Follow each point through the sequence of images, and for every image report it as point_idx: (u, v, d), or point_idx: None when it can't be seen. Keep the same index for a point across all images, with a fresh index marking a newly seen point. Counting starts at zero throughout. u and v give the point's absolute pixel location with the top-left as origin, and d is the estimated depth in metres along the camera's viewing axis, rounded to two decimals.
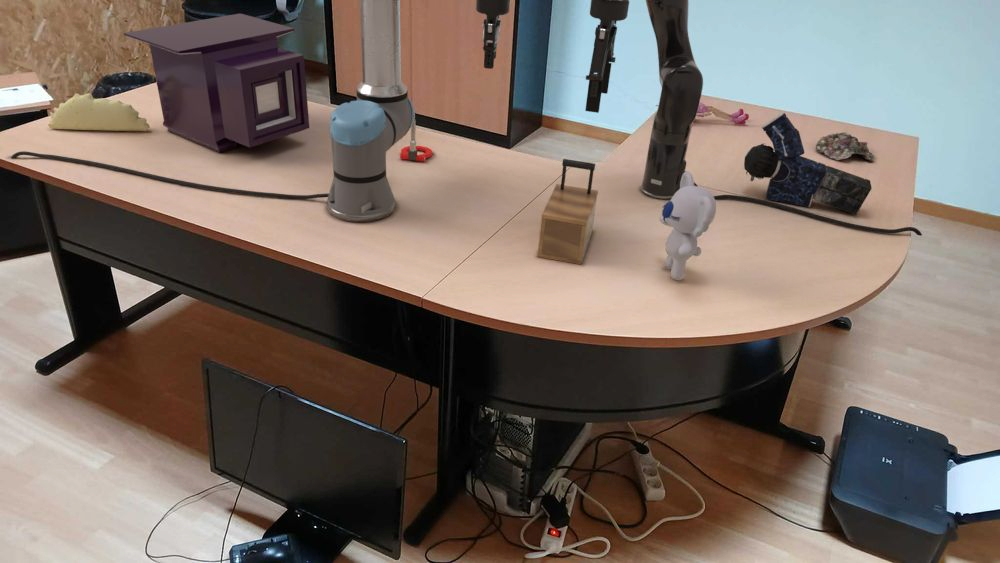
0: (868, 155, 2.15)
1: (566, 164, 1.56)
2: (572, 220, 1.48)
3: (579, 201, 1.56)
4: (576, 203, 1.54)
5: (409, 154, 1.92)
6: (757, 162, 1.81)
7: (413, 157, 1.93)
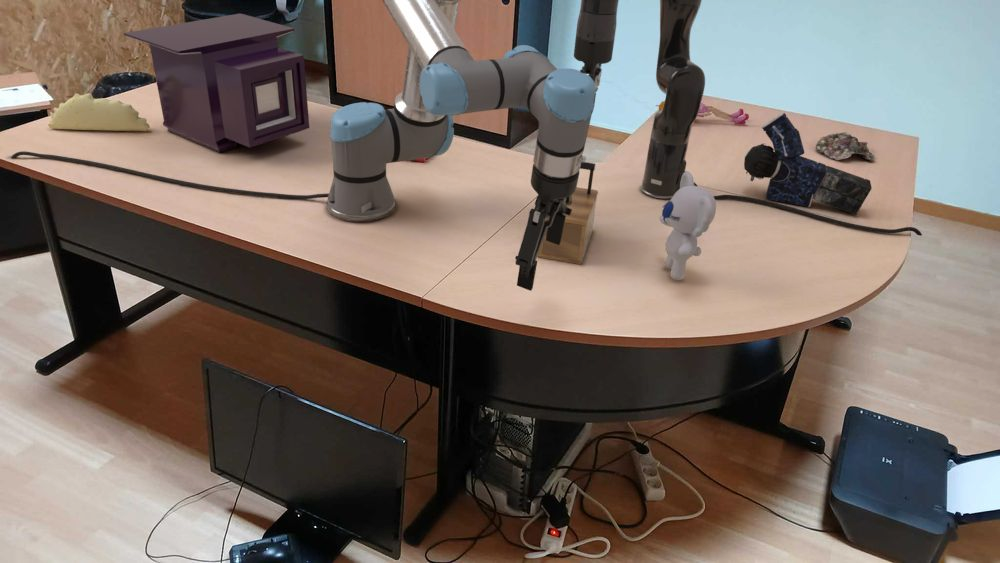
0: (868, 155, 2.15)
1: None
2: (572, 220, 1.48)
3: (579, 201, 1.56)
4: (576, 203, 1.54)
5: None
6: (757, 162, 1.81)
7: None
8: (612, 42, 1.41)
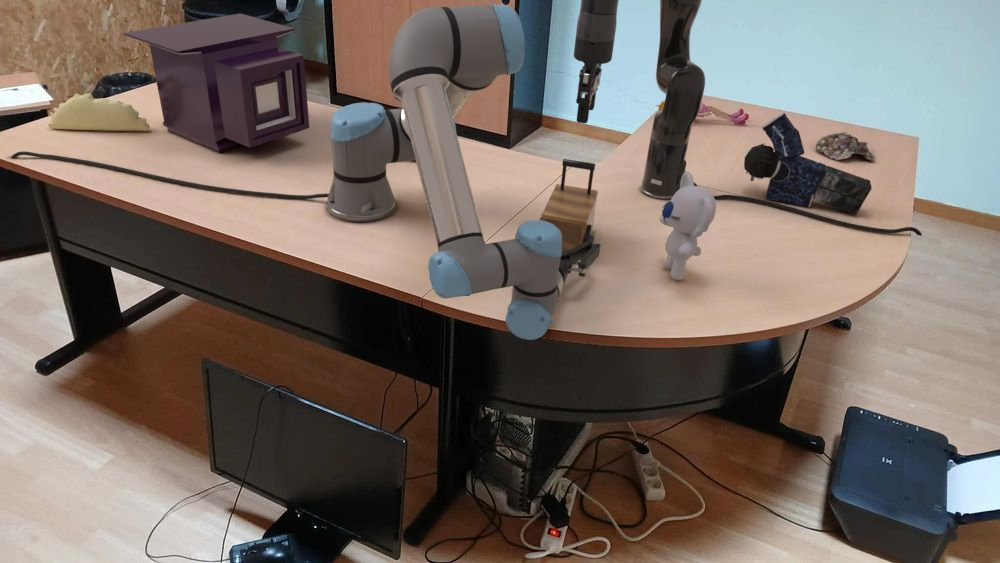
0: (868, 155, 2.15)
1: (566, 164, 1.56)
2: (572, 220, 1.48)
3: (579, 201, 1.56)
4: (576, 203, 1.54)
5: None
6: (757, 162, 1.81)
7: None
8: (612, 42, 1.41)
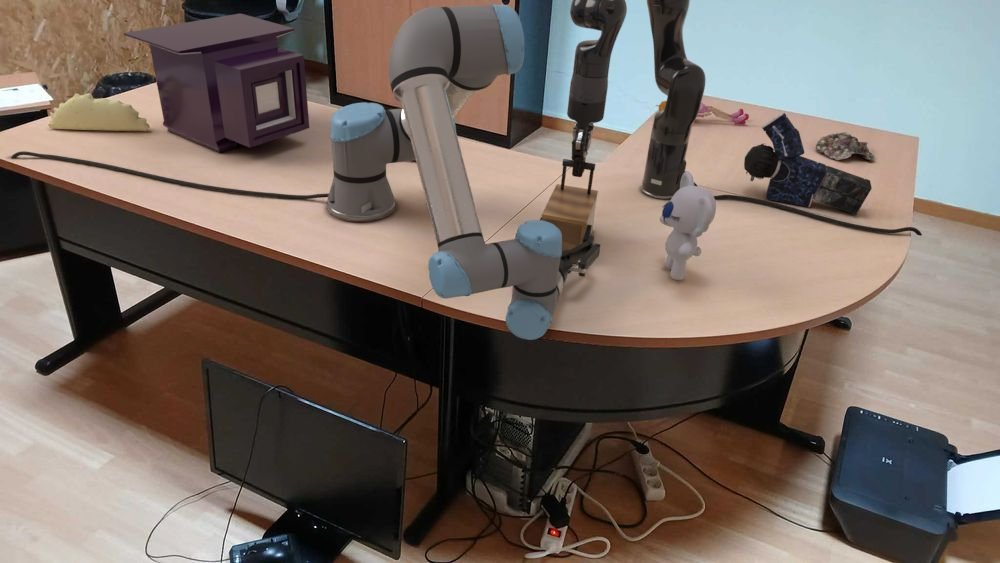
0: (868, 155, 2.15)
1: (566, 164, 1.56)
2: (572, 220, 1.48)
3: (579, 201, 1.56)
4: (576, 204, 1.54)
5: None
6: (757, 162, 1.81)
7: None
8: (604, 102, 1.47)
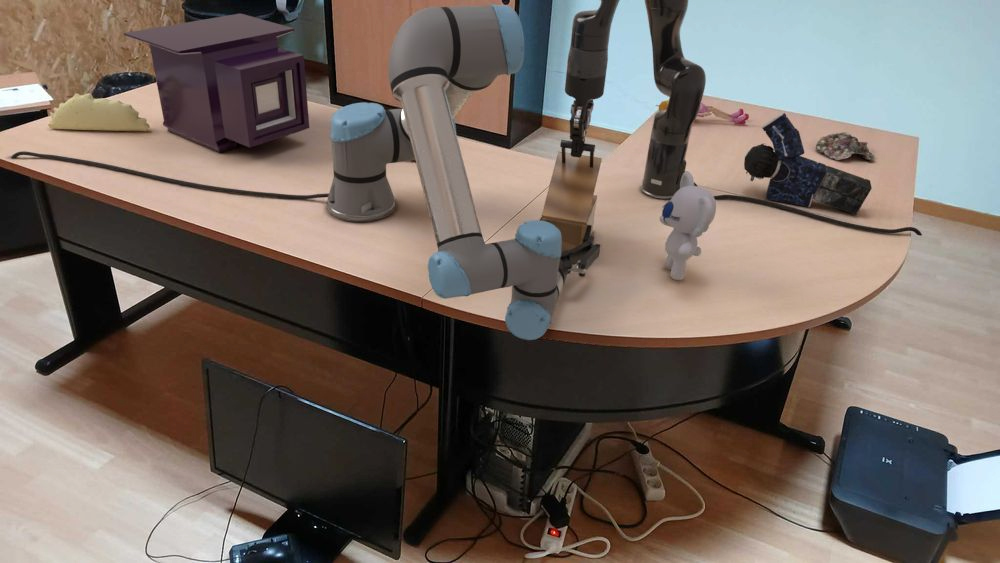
0: (868, 155, 2.15)
1: (564, 147, 1.48)
2: (572, 221, 1.48)
3: (580, 183, 1.51)
4: (577, 189, 1.51)
5: None
6: (757, 162, 1.81)
7: None
8: (603, 77, 1.38)
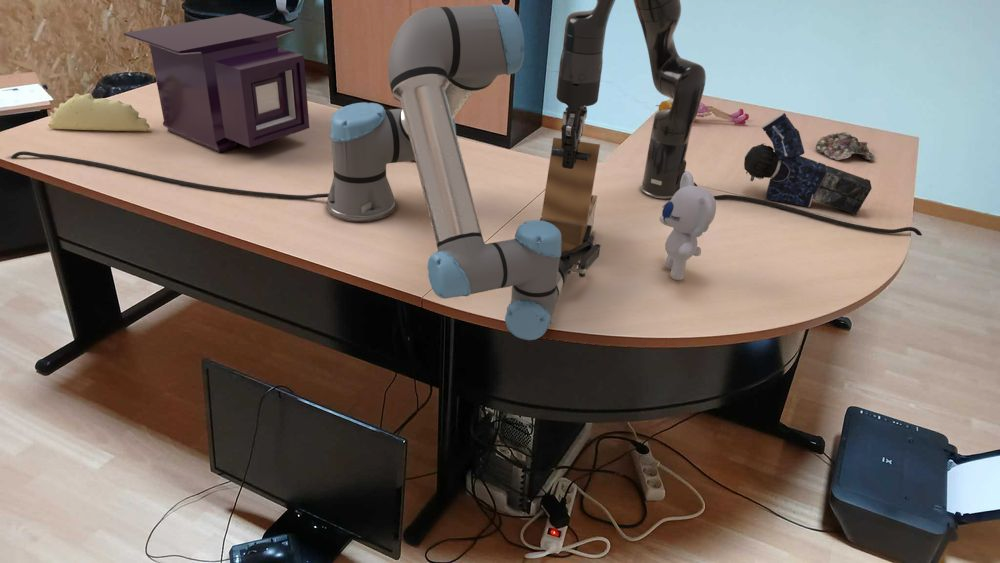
0: (868, 155, 2.15)
1: None
2: None
3: (578, 178, 1.46)
4: (576, 185, 1.46)
5: None
6: (757, 162, 1.81)
7: None
8: (598, 83, 1.29)
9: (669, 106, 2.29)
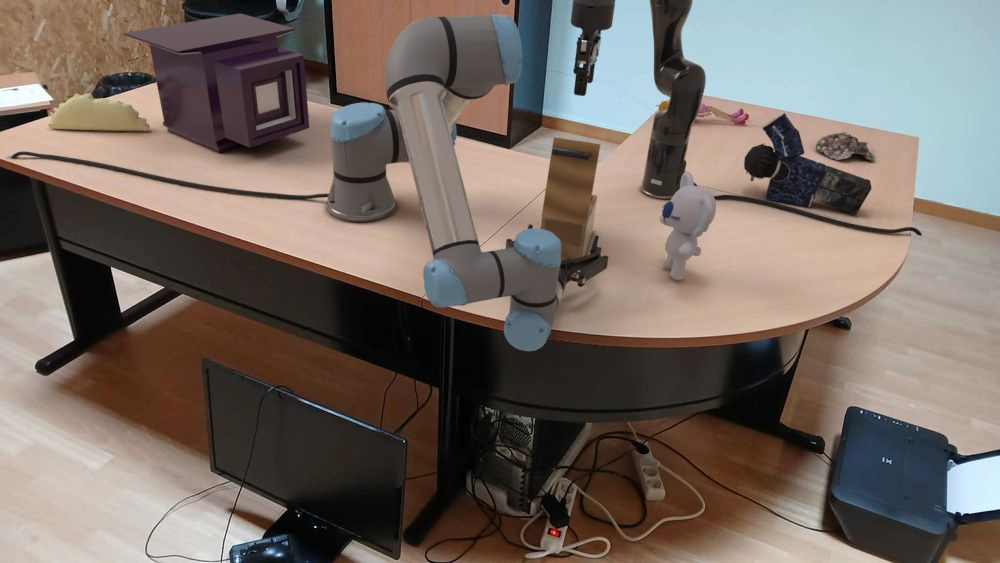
0: (868, 155, 2.15)
1: None
2: (572, 221, 1.48)
3: (579, 177, 1.46)
4: (576, 184, 1.46)
5: None
6: (757, 162, 1.81)
7: None
8: (612, 6, 1.30)
9: None
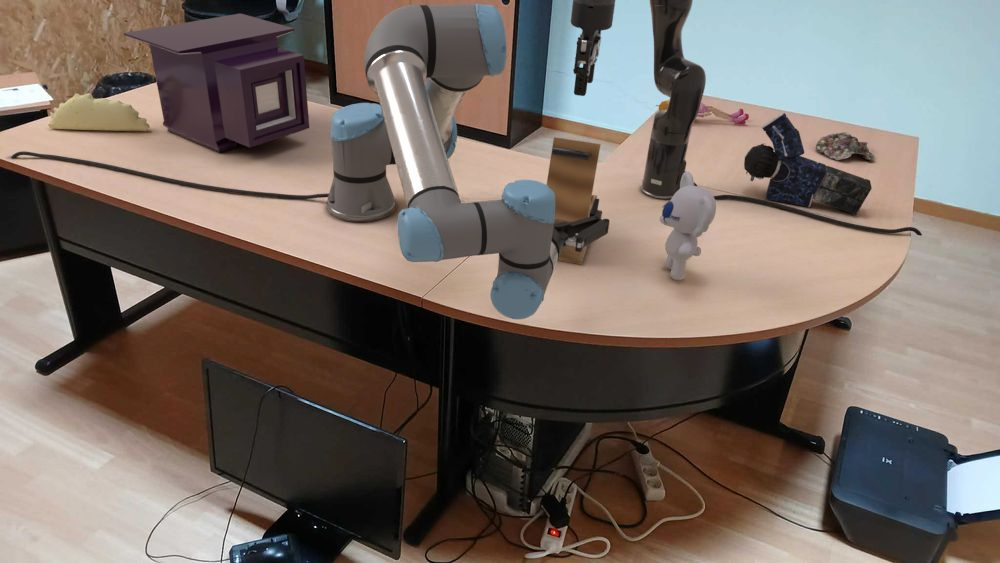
0: (868, 155, 2.15)
1: None
2: (572, 221, 1.48)
3: (579, 177, 1.46)
4: (576, 184, 1.46)
5: None
6: (757, 162, 1.81)
7: None
8: (612, 6, 1.30)
9: None
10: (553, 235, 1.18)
